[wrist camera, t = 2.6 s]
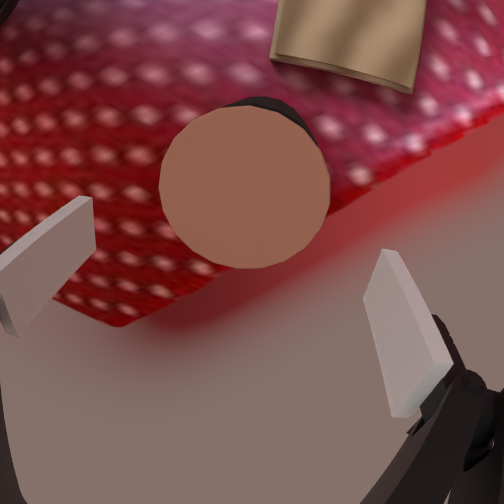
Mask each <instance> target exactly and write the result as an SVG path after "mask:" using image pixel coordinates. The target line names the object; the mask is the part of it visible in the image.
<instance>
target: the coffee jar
mask: <svg viewBox="0 0 504 504" xmlns="http://www.w3.org/2000/svg"><path fill="white" fill-rule="evenodd" d="M159 192H160V197H161V202H162V208H163V212H164V214H165V216H166V217H167V219H168V221H169V223H170V225H171V227H172V229H173V230H174V232H175V234H176V235H177V236H178V237H179V238H180V239H181V240H182V241H183V242H184V243H185V244H186V245H187V246H188V247H189V248H190V249H191V250H192V251H194V252H196V253H198V254H199V255H201V256H203V257H205V258H206V259H208V260H210V261H212V262H214V263H217V264H221V265H225V266H229V267H233V268H237V269H239V268H264V267H266V266H270V265H274V264H277V263H280V262H283V261H286V260H287V259H289V258H290V257H292V256H293V255H294V254H296V253H298V252H299V251H301V250H302V249H304V248H305V247H306V246H307V245H308V244H309V243H310V241H311V240H312V239H313V238H314V236H315V235H316V234H317V233H318V231H319V230H320V228H321V227H322V225H323V222H324V219H325V216H326V214H327V211H328V208H329V205H330V175H329V172H328V169H327V166H326V163H325V160H324V157H323V155H322V152H321V150H320V149H319V147H318V145H317V142H316V141H315V139H314V137H313V136H312V134H311V132H310V130H309V129H308V127H307V125H306V124H305V122H304V121H303V119H302V118H301V117H300V116H299V115H298V113H297V112H296V111H295V110H294V109H293V108H292V107H290V106H289V105H287V104H285V103H284V102H282V101H281V100H277V99H273V98H269V97H250V98H246V99H243V100H240V101H237V102H234V103H231V104H229V105H226V106H224V107H221V108H219V109H216V110H214V111H212V112H209V113H207V114H205V115H203V116H200V117H198V118H196V119H194V120H193V121H192V122H191V123H190V124H188V125H187V126H186V127H185V128H184V129H183V130H182V131H181V132H180V133H179V134H178V135H177V136H176V137H175V138H174V139H173V141H172V143H171V145H170V147H169V149H168V151H167V153H166V155H165V157H164V159H163V161H162V166H161V173H160V181H159Z"/></svg>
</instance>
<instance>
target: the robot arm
mask: <svg viewBox="0 0 504 504" xmlns="http://www.w3.org/2000/svg"><path fill="white" fill-rule="evenodd" d="M17 2H18V0H0V25H1V24H2V23H3V22H4V21H5V20H6V18H7V17H8V16H9V15H10V13H11V12H12V10H13V9H14V7H15V6H16V4H17ZM95 250H96V243H95V231H94V218H93V202H92V197H85V196H78V197H76V198H75V199H74V200H72V201H71V202H69V203H68V204H66V205H65V206H63V207H62V208H61V209H59V210H58V211H56V212H55V213H53V214H52V215H51V216H49V217H48V218H47V219H45V220H44V221H43V222H41V223H40V224H38V225H37V226H36V227H34V228H33V229H32V230H31V231H29V232H28V233H27V234H25V235H24V236H23V237H22V238H20V239H19V240H18V241H16V242H14V243H12V244H10V245H9V246H8V247H6V248H5V249H4V250H3V252H0V321H1V323H2V326H3V328H4V331H5V332H6V333H8V334H10V335H13V336H15V337H17V338H19V337H20V336H21V335H22V333H23V332H24V331H25V330H26V328H27V327H28V326H29V324H30V323H31V322H32V321H33V319H34V318H35V317H36V316H37V315H38V314H39V312H40V311H41V310H42V309H43V308H44V306H45V305H46V304H47V303H48V302H49V301H50V299H51V298H52V297H53V296H54V295H55V294H56V293H57V291H58V290H59V289H60V288H61V287H62V286H63V285H64V283H65V282H66V281H67V280H68V279H69V278H70V277H71V276H72V275H73V274H74V272H75V271H76V270H77V269H78V268H79V267H80V266H81V265H82V264H83V263H84V262H85V261H86V260H87V259H88V257H89V256H90V255H91V254H92V253H93V252H94V251H95ZM363 302H364V306H365V309H366V313H367V316H368V320H369V323H370V327H371V331H372V335H373V338H374V342H375V346H376V350H377V354H378V358H379V361H380V366H381V370H382V374H383V378H384V383H385V387H386V392H387V396H388V400H389V406H390V410H391V415H392V417H411V416H412V415H413V414H414V413H415V412H416V411H417V410H418V408H419V407H420V409H421V413H422V417H421V418H420V419H419V420H418V421H417V422H416V423H415V424H414V425H413V426H412V427H411V429H410V430H409V431H408V432H407V434H409V436H408V437H407V439H406V441H405V442H404V444H403V445H402V447H401V448H400V450H399V451H398V453H397V454H396V456H395V457H394V459H393V460H392V462H391V463H390V465H389V466H388V467H387V469H386V470H385V472H384V473H383V475H382V476H381V477H380V478H379V480H378V481H377V482H376V484H375V485H374V486H373V488H372V489H371V490H370V492H369V493H368V494H367V495H366V497H365V498H364V499H363V500H362V502H361V503H360V504H443V503H444V501H445V499H446V498H447V495H448V494H449V492H450V496H449V500H448V504H504V388H503V390H502V391H501V392H500V393H499V392H496V391H493V390H490V389H487V387H486V384H485V382H484V381H483V379H482V378H481V377H480V376H479V375H478V374H477V373H475V372H473V371H471V370H466V368H465V366H464V363H463V361H462V359H461V357H460V355H459V353H458V350H457V348H456V346H455V344H453V340H452V338H451V336H449V332H448V330H447V328H446V326H445V324H444V323H443V322H442V321H441V320H440V318H439V317H438V316H437V315H433V314H431V313H430V311H429V310H428V307H427V306H426V303H425V301H424V299H423V298H422V296H421V294H420V292H419V290H418V288H417V286H416V284H415V282H414V280H413V279H412V277H411V275H410V273H409V271H408V269H407V268H406V266H405V264H404V262H403V261H402V259H401V257H400V255H399V254H398V252H397V251H393V250H388V249H384V248H382V250H381V253H380V256H379V258H378V261H377V263H376V266H375V269H374V271H373V274H372V276H371V279H370V281H369V284H368V286H367V289H366V291H365V294H364V296H363ZM493 442H494V446H493V448H492V445H493ZM450 490H451V491H450ZM0 504H27V503H26V501H25V500H24V498H23V496H22V494H21V492H20V489H19V485H18V481H17V478H16V474H15V470H14V466H13V462H12V457H11V453H10V448H9V443H8V438H7V432H6V426H5V421H4V413H3V405H2V397H1V387H0Z"/></svg>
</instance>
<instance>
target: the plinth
mask: <svg viewBox="0 0 504 504" xmlns="http://www.w3.org/2000/svg"><path fill="white" fill-rule="evenodd" d="M426 3H427V0H279V5H278V10H277V16H276V21H275V27H274V33H273V39H272V44H271V50H270V56H269V58H270V60H271V61H277V62H283V63H289V64H295V65H300V66H305V67H310V68H314V69H319V70H324V71H328V72H332V73H336V74H340V75H344V76H348V77H352V78H356V79H359V80H363V81H366V82H370V83H373V84H377V85H380V86H383V87H386V88H389V89H392V90H395V91H398V92H401V93H409V94H412V91H413V86H414V81H415V76H416V71H417V65H418V60H419V54H420V48H421V41H422V35H423V28H424V20H425V12H426Z"/></svg>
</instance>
